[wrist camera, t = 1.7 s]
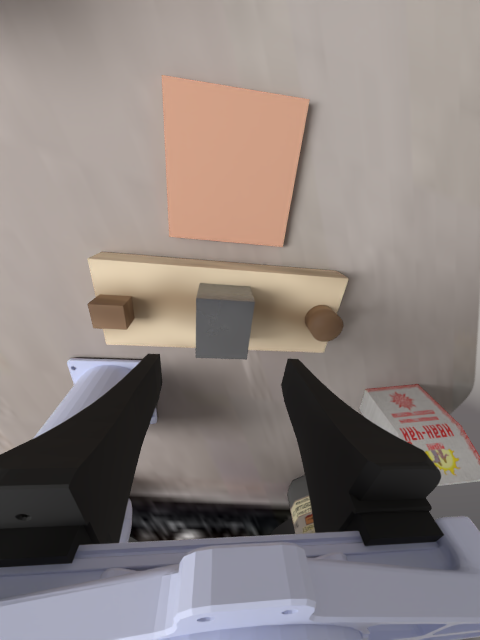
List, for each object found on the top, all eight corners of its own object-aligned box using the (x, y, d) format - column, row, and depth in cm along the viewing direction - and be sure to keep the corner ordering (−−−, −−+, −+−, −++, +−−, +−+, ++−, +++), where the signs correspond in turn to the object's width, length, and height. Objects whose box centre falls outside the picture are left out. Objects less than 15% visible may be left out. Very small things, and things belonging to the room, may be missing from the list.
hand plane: (315, 340, 24) (331, 364, 21) (116, 331, 22) (96, 357, 18) (336, 270, 21) (360, 286, 17) (101, 251, 18) (73, 265, 15)
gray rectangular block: (243, 338, 21) (246, 359, 18) (198, 336, 20) (195, 357, 18) (250, 286, 18) (254, 301, 16) (199, 282, 18) (196, 298, 15)
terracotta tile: (281, 245, 19) (282, 246, 19) (170, 235, 18) (169, 236, 18) (306, 102, 15) (309, 99, 14) (164, 79, 14) (161, 75, 13)
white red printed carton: (409, 404, 30) (484, 489, 22) (359, 409, 30) (415, 496, 21) (417, 384, 29) (504, 467, 20) (365, 389, 28) (429, 475, 20)
